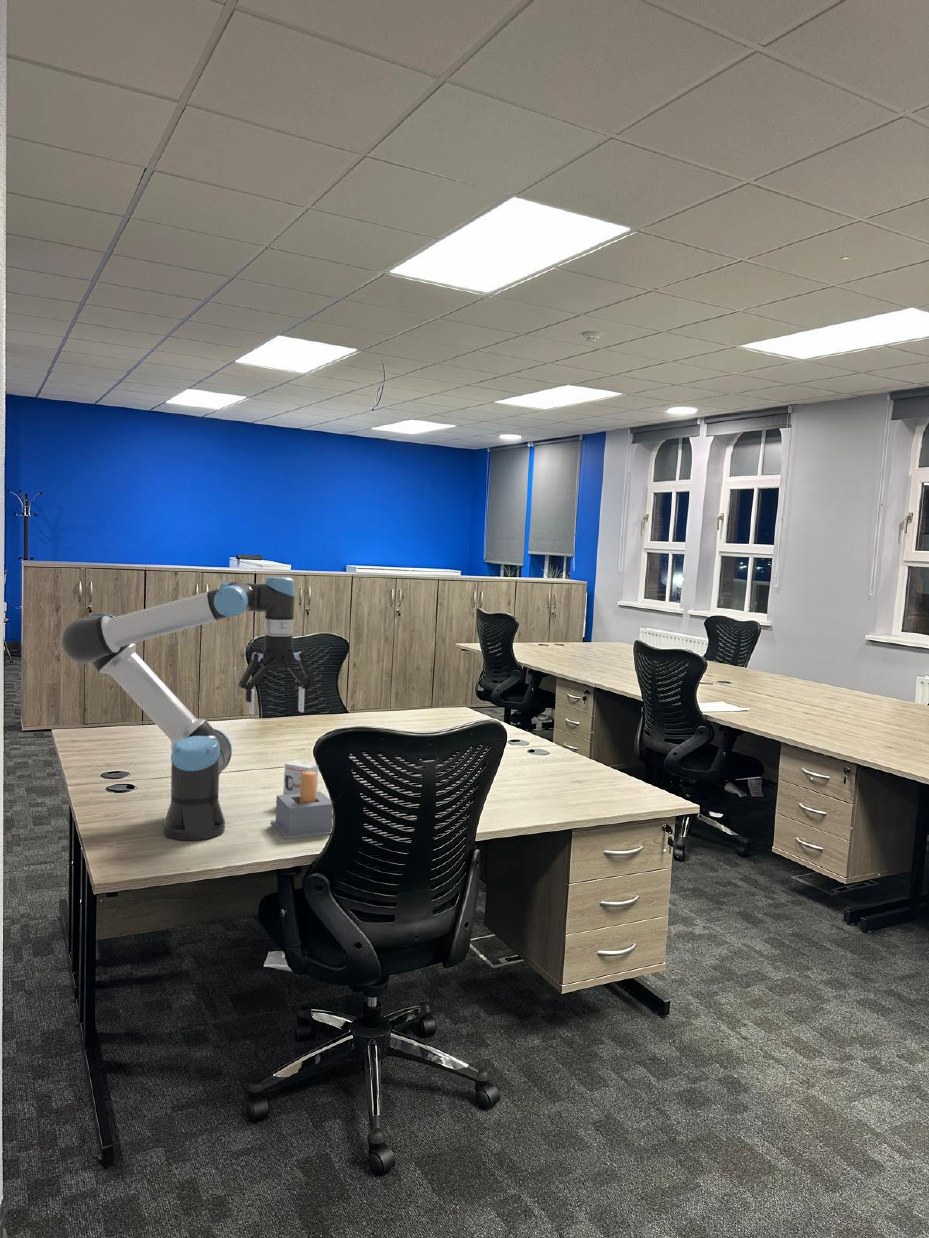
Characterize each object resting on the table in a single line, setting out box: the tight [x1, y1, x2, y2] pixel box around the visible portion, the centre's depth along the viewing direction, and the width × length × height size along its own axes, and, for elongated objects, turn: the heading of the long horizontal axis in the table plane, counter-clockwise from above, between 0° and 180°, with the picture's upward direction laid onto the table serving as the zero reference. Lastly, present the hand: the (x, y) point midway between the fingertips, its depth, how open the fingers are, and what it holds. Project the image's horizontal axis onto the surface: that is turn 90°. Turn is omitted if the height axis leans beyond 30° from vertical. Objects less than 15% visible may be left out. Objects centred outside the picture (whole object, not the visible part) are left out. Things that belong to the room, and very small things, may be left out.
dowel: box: [300, 771, 317, 804], centre depth 231 cm, size 4×4×14 cm
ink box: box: [282, 759, 319, 795], centre depth 251 cm, size 9×5×12 cm, turn 66°
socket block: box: [270, 790, 333, 840], centre depth 231 cm, size 14×14×8 cm
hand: (276, 712), depth 237 cm, fingers open, 13 cm apart
